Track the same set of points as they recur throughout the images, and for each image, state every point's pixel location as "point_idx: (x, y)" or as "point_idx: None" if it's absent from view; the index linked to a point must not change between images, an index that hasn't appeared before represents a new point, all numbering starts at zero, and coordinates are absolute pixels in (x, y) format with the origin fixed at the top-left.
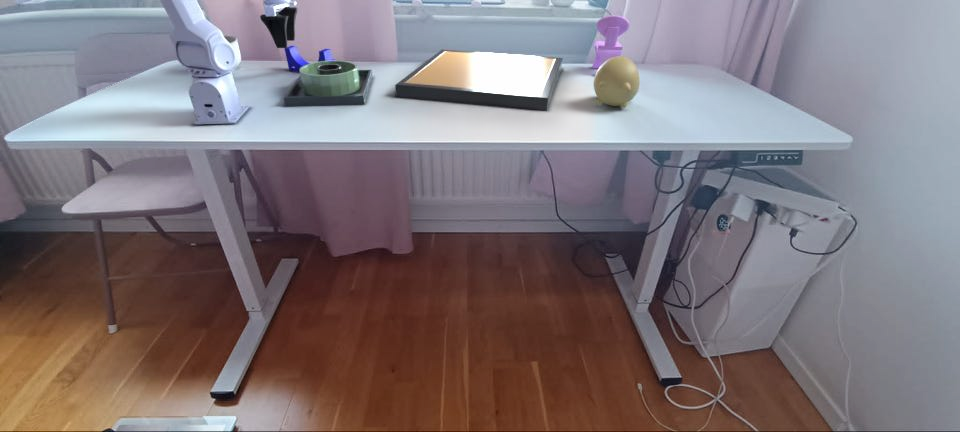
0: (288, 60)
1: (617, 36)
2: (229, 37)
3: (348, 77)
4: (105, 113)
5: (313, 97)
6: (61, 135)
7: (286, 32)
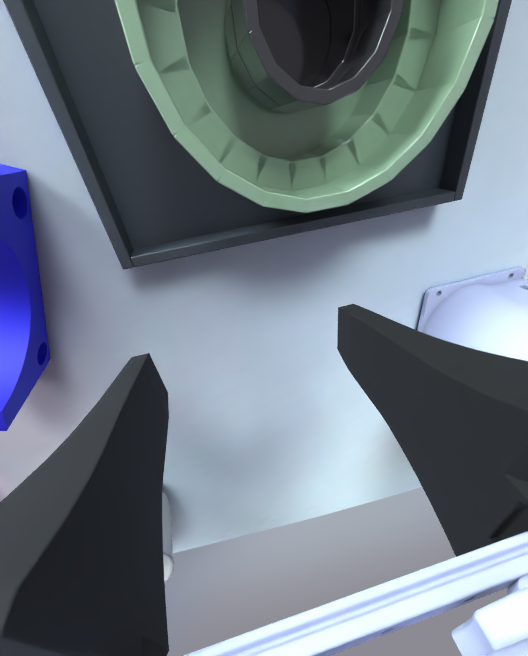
0: (32, 382)
1: None
2: None
3: None
4: (390, 466)
5: (492, 66)
6: None
7: (155, 422)
